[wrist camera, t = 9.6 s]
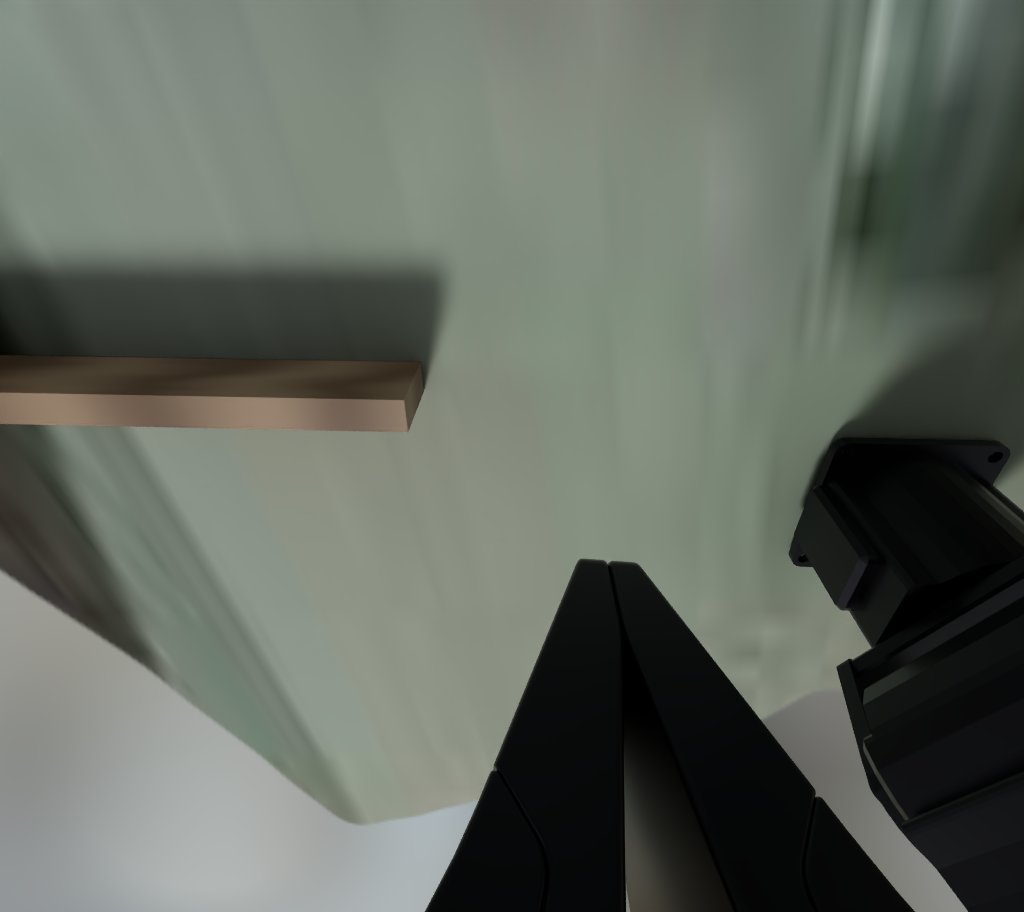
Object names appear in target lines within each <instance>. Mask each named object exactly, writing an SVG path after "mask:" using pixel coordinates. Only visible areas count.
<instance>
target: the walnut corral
mask: <svg viewBox="0 0 1024 912" xmlns="http://www.w3.org/2000/svg"><path fill="white" fill-rule="evenodd" d="M423 392H424V388H423V378H422V369H421V362H386V361H325V360H264V359H203V358H142V357H81V356H20V355H0V424H39V425H88V426H136V427H184V428H233V429H281V430H329V431H378V432H408V431H409V428H410V426H411V423H412V421H413V418H414V415H415V413H416V410H417V408H418V405H419V402H420V400H421V397H422V395H423Z"/></svg>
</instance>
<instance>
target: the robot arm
mask: <svg viewBox="0 0 1024 912" xmlns="http://www.w3.org/2000/svg"><path fill="white" fill-rule="evenodd" d="M846 449H849V450H848V451H847V452H846V453H844V454H841V453H842V452H843V451H844V450H846ZM991 454H992V455H991ZM990 455H991V456H990ZM1009 456H1010V450H1009V449H1008V448H1007V447H1006V446H1004V445H1003V444H1002V443H1000V442H999V441H987V440H938V439H889V438H841V439H839V440H837V441H836V442H834V443H833V444H832V445H831V447H830V449H829V451H828V454H827V456H826V459H825V461H824V464H823V466H822V469H821V472H820V474H819V477H818V479H817V482H816V484H815V487H814V488H813V489H812V490H811V492H810V494H809V497H808V499H807V502H806V504H805V507H804V510H803V512H802V515H801V517H800V520H799V522H798V525H797V528H796V530H795V533H794V535H795V538H794V540H793V543H792V545H791V548H790V551H789V556H790V558H791V560H792V562H793V564H794V565H796V566H800V567H813V568H814V570H815V571H816V573H817V575H818V576H819V578H820V580H821V582H822V583H823V585H824V587H825V588H826V590H827V592H828V593H829V595H830V597H831V599H832V600H833V602H834V604H835V605H836V606H837V607H838V608H839V609H840V610H849V611H850V613H851V615H852V616H853V618H854V620H855V621H856V623H857V624H858V626H859V628H860V629H861V631H862V633H863V634H864V636H865V638H866V639H867V641H868V643H869V644H870V646H871V647H872V648H871V649H869V650H868V651H866V652H865V653H863V654H861V655H860V656H858V657H857V658H855V659H853V660H852V659H848V660H846V661H845V662H843V663H842V664H840V665H838V666H837V671H838V675H839V679H840V682H841V686H842V690H843V693H844V697H845V701H846V705H847V708H848V712H849V715H850V719H851V723H852V727H853V730H854V734H855V737H856V741H857V745H858V748H859V752H860V756H861V759H862V763H863V766H864V769H865V772H866V776H867V779H868V783H869V786H870V789H871V791H872V792H873V794H874V796H875V797H876V798H877V799H878V800H879V801H880V802H881V804H882V805H883V806H884V808H885V809H886V811H887V813H888V814H889V816H890V817H891V818H892V820H893V821H894V822H895V824H896V825H897V827H898V828H899V829H900V830H901V831H902V833H903V834H904V835H905V836H906V837H907V839H908V840H909V841H910V842H911V843H912V844H913V845H914V846H915V847H916V848H917V849H918V850H919V851H920V852H921V853H922V854H923V855H924V856H925V857H926V858H927V859H928V860H929V861H930V862H931V863H932V865H933V866H934V867H935V868H936V869H937V870H938V872H939V873H940V874H941V876H942V877H943V878H944V879H945V881H946V882H947V884H948V885H949V886H950V888H951V889H952V890H953V892H954V893H955V894H956V896H957V897H958V898H959V900H960V901H961V902H962V903H963V905H964V906H965V908H966V909H967V910H968V912H1024V512H1023V511H1022V510H1021V509H1020V508H1019V507H1018V506H1016V505H1015V504H1014V503H1013V502H1012V501H1011V500H1009V499H1008V498H1007V497H1006V496H1005V495H1003V494H1002V493H1001V492H1000V491H999V490H998V489H996V488H995V487H994V486H993V485H992V484H993V483H994V481H995V479H996V478H997V476H998V474H999V473H1000V471H1001V470H1002V468H1003V466H1004V465H1005V463H1006V462H1007V460H1008V458H1009ZM803 554H804V555H803ZM801 555H802V556H801ZM815 794H816V793H815V789H814V788H813V786H812V785H811V784H810V782H809V781H808V780H807V779H806V777H805V776H804V775H803V774H802V772H801V771H800V770H799V768H798V767H797V766H796V765H795V763H794V762H793V761H792V759H791V758H790V757H789V756H788V754H787V753H786V752H785V751H784V749H783V748H782V747H781V745H780V744H779V743H778V742H777V740H776V739H775V738H774V736H773V735H772V734H771V733H770V731H769V730H768V729H767V728H766V726H765V725H764V724H763V722H762V721H761V720H760V719H759V717H758V716H757V715H756V713H755V712H754V711H753V710H752V708H751V707H750V706H749V705H748V703H747V702H746V701H745V699H744V698H743V697H742V696H741V694H740V693H739V692H738V690H737V689H736V688H735V687H734V685H733V684H732V683H731V682H730V680H729V679H728V678H727V676H726V675H725V674H724V673H723V671H722V670H721V669H720V667H719V666H718V665H717V664H716V662H715V661H714V660H713V659H712V657H711V656H710V655H709V653H708V652H707V651H706V650H705V648H704V647H703V646H702V644H701V643H700V642H699V641H698V639H697V638H696V637H695V636H694V634H693V633H692V632H691V630H690V629H689V628H688V627H687V625H686V624H685V623H684V621H683V620H682V619H681V618H680V616H679V615H678V614H677V613H676V611H675V610H674V609H673V607H672V606H671V605H670V604H669V602H668V601H667V600H666V598H665V597H664V596H663V595H662V593H661V592H660V591H659V590H658V588H657V587H656V586H655V584H654V583H653V582H652V581H651V579H650V578H649V577H648V575H647V574H646V573H645V572H644V570H643V569H642V568H641V567H640V566H639V565H638V564H637V563H634V562H622V561H611V562H609V563H608V564H607V562H606V561H604V560H594V559H580V560H579V561H578V562H577V564H576V566H575V569H574V571H573V574H572V576H571V579H570V581H569V583H568V586H567V588H566V591H565V593H564V596H563V598H562V600H561V603H560V605H559V608H558V610H557V613H556V615H555V617H554V620H553V622H552V625H551V627H550V630H549V632H548V634H547V637H546V639H545V642H544V644H543V647H542V649H541V651H540V654H539V656H538V659H537V661H536V664H535V666H534V668H533V671H532V673H531V676H530V678H529V681H528V683H527V685H526V688H525V690H524V693H523V695H522V698H521V700H520V702H519V705H518V707H517V710H516V712H515V715H514V717H513V719H512V722H511V724H510V727H509V729H508V732H507V734H506V737H505V739H504V741H503V744H502V746H501V749H500V751H499V754H498V756H497V758H496V761H495V763H494V770H493V771H491V772H490V774H489V777H488V779H487V782H486V784H485V786H484V789H483V791H482V794H481V796H480V799H479V801H478V804H477V806H476V808H475V810H474V813H473V815H472V817H471V820H470V821H469V824H468V826H467V828H466V830H465V833H464V835H463V837H462V839H461V842H460V844H459V846H458V848H457V850H456V853H455V855H454V857H453V859H452V861H451V863H450V865H449V867H448V868H447V870H446V872H445V874H444V876H443V878H442V880H441V882H440V884H439V886H438V888H437V890H436V891H435V893H434V895H433V897H432V899H431V901H430V903H429V905H428V907H427V909H426V911H425V912H626V886H627V893H628V900H629V907H630V912H915V911H914V910H913V909H912V908H911V907H910V906H909V905H908V903H907V902H906V901H905V900H904V899H903V898H902V897H901V896H900V894H899V893H898V892H897V891H896V890H895V888H894V887H893V886H892V885H891V883H890V882H889V881H888V880H887V879H886V877H885V876H884V875H883V874H882V872H881V871H880V870H879V869H878V868H877V866H876V865H875V864H874V863H873V861H872V860H871V859H870V858H869V856H868V855H867V854H866V853H865V852H864V851H863V849H862V848H861V847H860V845H859V844H858V843H857V842H856V840H855V839H854V838H853V837H852V836H851V834H850V833H849V832H848V831H847V829H846V828H845V827H844V825H843V824H842V823H841V822H840V820H839V819H838V818H837V817H836V815H835V814H834V813H833V812H832V810H831V809H830V808H829V806H828V805H827V804H826V802H825V801H824V800H823V799H822V798H821V797H815Z"/></svg>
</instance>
